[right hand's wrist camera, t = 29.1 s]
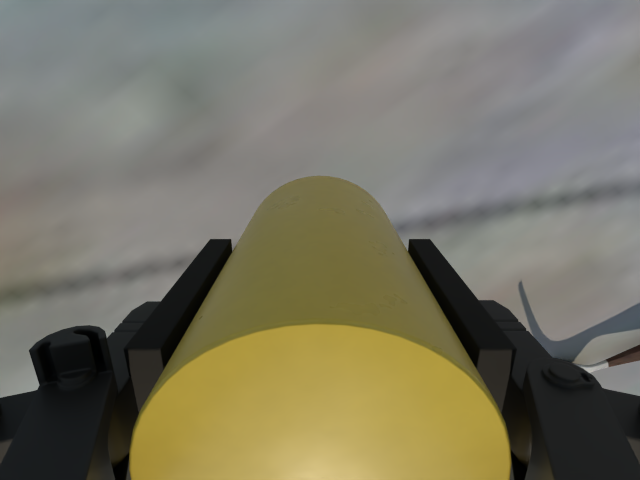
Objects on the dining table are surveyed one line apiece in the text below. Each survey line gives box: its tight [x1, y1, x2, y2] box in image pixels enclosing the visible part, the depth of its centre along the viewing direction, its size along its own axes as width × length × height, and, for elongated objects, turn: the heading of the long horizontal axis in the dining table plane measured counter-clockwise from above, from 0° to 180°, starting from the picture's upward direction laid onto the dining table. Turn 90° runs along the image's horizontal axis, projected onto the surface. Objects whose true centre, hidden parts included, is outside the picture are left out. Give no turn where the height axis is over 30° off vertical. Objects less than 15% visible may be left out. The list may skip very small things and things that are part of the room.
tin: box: [129, 176, 511, 480], centre depth 12 cm, size 6×6×11 cm
